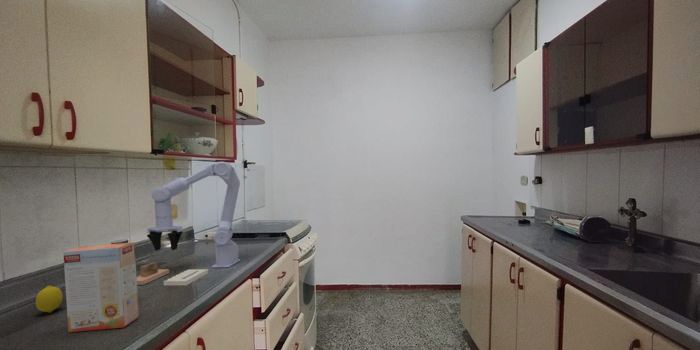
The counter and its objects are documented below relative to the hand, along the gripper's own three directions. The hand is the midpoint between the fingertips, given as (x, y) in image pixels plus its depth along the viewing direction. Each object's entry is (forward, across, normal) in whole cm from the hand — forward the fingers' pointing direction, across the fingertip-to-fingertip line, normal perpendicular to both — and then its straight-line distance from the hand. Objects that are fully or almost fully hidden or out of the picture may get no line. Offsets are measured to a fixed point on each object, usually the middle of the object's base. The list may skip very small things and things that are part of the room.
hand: (166, 249), depth 115 cm
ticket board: (+9, +14, -7) cm, 19 cm away
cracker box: (+10, +16, -39) cm, 43 cm away
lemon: (+10, -10, -33) cm, 36 cm away
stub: (+9, -2, -7) cm, 12 cm away
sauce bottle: (+10, +10, -28) cm, 31 cm away
